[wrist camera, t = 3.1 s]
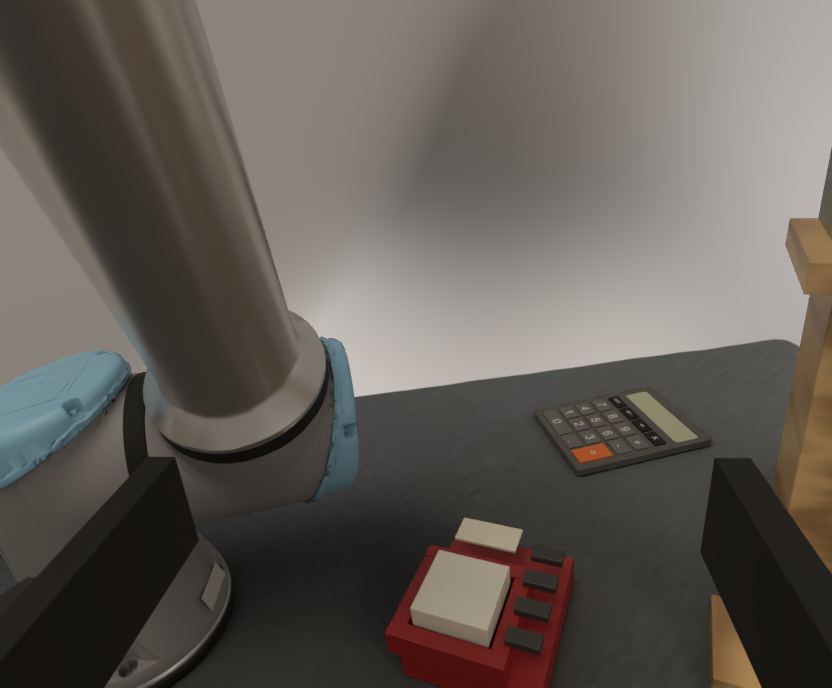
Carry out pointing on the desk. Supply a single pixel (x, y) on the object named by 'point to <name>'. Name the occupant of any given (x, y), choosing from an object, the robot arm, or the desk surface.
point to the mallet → (827, 201)
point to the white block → (461, 597)
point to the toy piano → (497, 664)
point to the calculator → (619, 430)
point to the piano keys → (524, 607)
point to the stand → (795, 440)
